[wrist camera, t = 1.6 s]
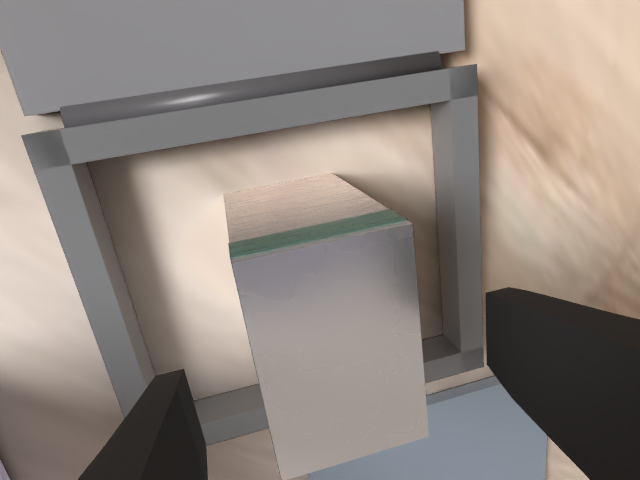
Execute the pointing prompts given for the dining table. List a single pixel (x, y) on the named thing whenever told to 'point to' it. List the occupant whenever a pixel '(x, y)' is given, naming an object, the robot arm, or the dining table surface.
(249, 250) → the block
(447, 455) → the pad
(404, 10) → the hinged gray frame
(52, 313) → the dining table surface
